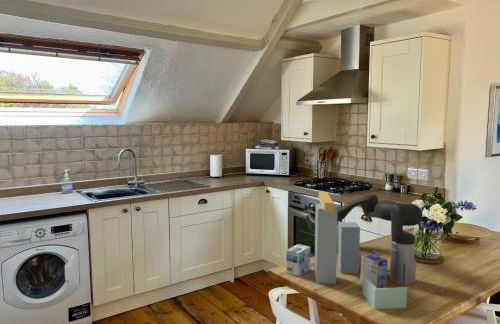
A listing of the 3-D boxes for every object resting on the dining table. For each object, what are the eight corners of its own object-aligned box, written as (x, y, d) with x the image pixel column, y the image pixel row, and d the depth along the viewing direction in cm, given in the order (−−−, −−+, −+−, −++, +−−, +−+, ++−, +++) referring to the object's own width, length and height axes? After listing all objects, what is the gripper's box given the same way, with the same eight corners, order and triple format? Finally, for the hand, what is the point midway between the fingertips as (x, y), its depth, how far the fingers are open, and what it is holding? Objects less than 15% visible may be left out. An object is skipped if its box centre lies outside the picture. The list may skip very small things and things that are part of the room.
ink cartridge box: (387, 288, 161) (388, 254, 160) (377, 291, 159) (378, 256, 157) (369, 279, 170) (370, 247, 168) (359, 282, 168) (360, 249, 166)
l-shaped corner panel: (406, 307, 146) (407, 288, 145) (374, 309, 145) (374, 289, 144) (392, 293, 158) (392, 274, 157) (362, 294, 157) (363, 276, 156)
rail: (318, 199, 180) (318, 191, 180) (326, 199, 180) (326, 191, 179) (324, 211, 158) (324, 202, 158) (333, 211, 158) (333, 202, 158)
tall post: (314, 275, 175) (315, 204, 171) (332, 275, 174) (334, 204, 170) (316, 283, 167) (317, 208, 163) (335, 283, 166) (337, 208, 162)
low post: (337, 265, 185) (338, 222, 183) (354, 266, 185) (356, 222, 182) (340, 272, 178) (341, 227, 175) (358, 273, 177) (360, 227, 174)
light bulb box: (298, 276, 174) (298, 253, 172) (285, 273, 178) (285, 249, 176) (310, 269, 182) (310, 246, 181) (297, 265, 186) (298, 243, 185)
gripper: (302, 206, 204) (304, 197, 189) (330, 207, 203) (335, 197, 188) (303, 221, 201) (305, 212, 186) (331, 221, 200) (336, 212, 186)
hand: (320, 204), depth 187 cm, fingers open, 8 cm apart
